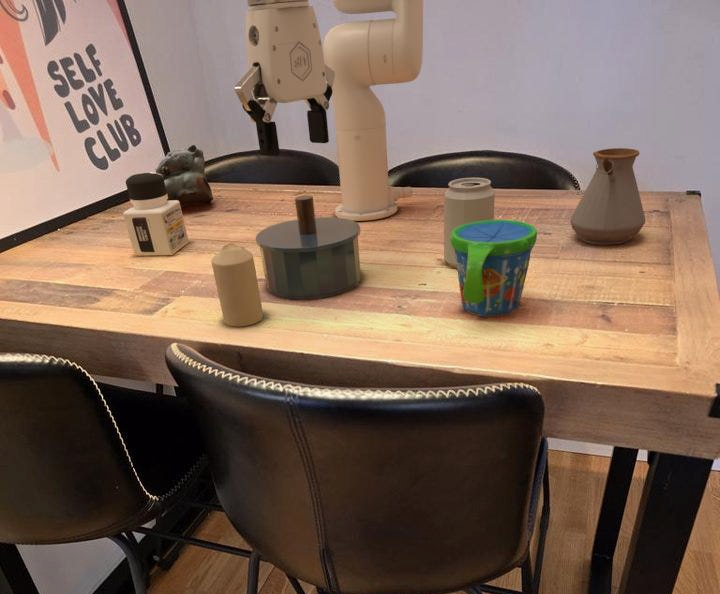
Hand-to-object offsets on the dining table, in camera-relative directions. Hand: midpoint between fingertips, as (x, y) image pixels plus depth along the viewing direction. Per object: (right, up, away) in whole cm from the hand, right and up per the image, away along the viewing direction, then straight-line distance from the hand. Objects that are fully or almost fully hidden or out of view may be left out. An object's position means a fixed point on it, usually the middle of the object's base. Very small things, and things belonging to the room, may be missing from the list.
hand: (295, 148), depth 89 cm
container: (-28, -3, +32) cm, 43 cm away
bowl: (+2, -15, +11) cm, 19 cm away
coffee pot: (+47, -9, +14) cm, 50 cm away
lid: (+1, -10, +7) cm, 12 cm away
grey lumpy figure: (-31, +16, +58) cm, 67 cm away
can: (+26, -12, +13) cm, 31 cm away
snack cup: (+26, -23, -3) cm, 35 cm away
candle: (-7, -24, +1) cm, 25 cm away
